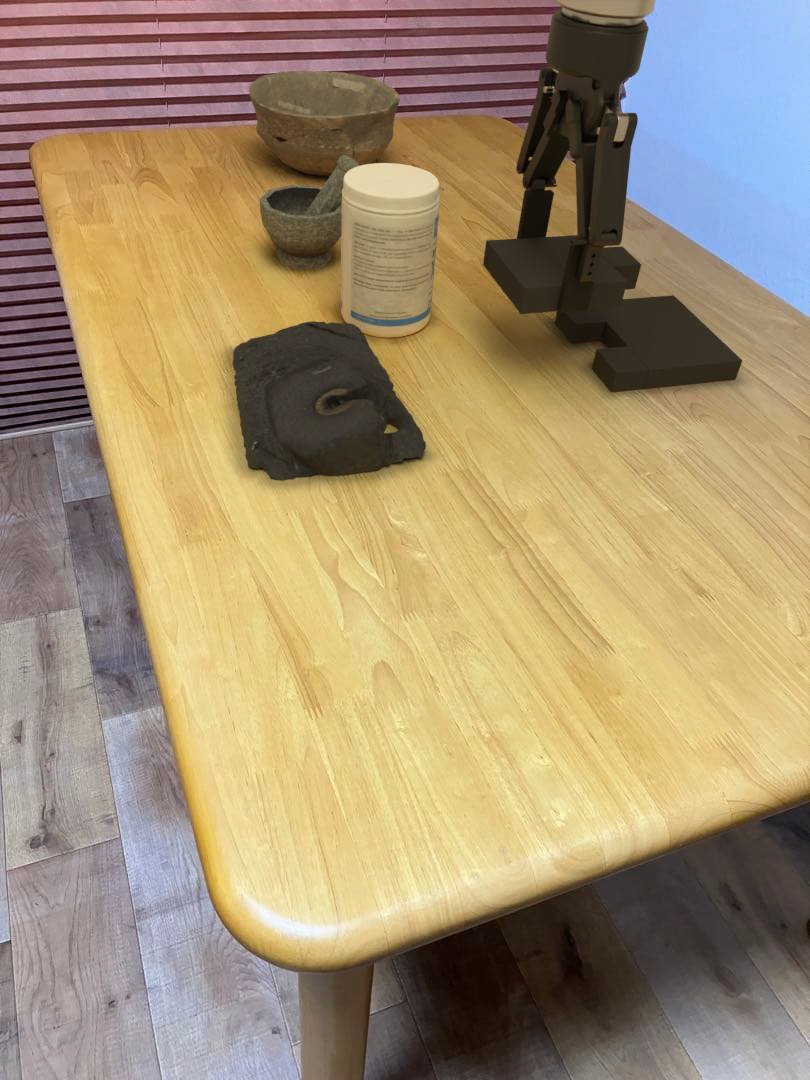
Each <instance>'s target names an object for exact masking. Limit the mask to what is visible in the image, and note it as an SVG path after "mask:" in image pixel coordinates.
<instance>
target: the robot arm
mask: <svg viewBox="0 0 810 1080" xmlns="http://www.w3.org/2000/svg"><path fill="white" fill-rule="evenodd" d="M556 2H557V4H558V6H560V7H561V8H559V9H556V10H555V12H554V13H553V14H552V15H551V21H550V27H549V33H548V39H547V46H546V51H545V61H546V64H547V65H548V66H542V67H541V68H540V70H539V75H538V82H537V88H536V89H537V90H536V96H535V100H534V103H533V106H532V109H531V113H530V117H529V121H528V124H527V127H526V131H525V134H524V137H523V141H522V144H521V148H520V152H519V155H518V158H517V161H516V167H515V169H516V173H517V174H518V175H522V187H523V188H524V189H525V190H524V192H523V198H522V204H521V211H520V217H519V222H518V229H517V234H516V239H520V238H538V237H547V234H548V228H549V223H550V217H551V211H552V206H553V201H554V196H555V192H554V191H553V190H552V189H546V188H557V187H558V184H557V180H556V175H557V174H558V172H559V169H560V168H561V166H562V164H563V162H564V160H565V158H566V156H567V154H568V152H569V155H570V156H569V157H571V159H573V160H574V161H575V189H576V191H575V193H576V229H577V231H576V232H577V235H578V237H575V238H571V239H570V248H569V253H568V257H567V262H566V267H565V272H564V277H563V282H562V287H561V292H560V297H559V302H558V306H557V310H558V311H559V312H560V313H566V312H579V311H588V307H589V302H590V298H591V294H592V290H593V285H594V281H595V278H596V275H597V270H598V267H599V266H598V265H599V262H600V258H601V254H602V250H603V248H605V247H614V246H620V245H621V244H622V241H623V232H624V223H625V222H624V221H625V215H626V214H625V212H626V203H627V193H628V182H629V172H630V171H629V170H630V162H631V153H632V151H631V150H632V145H633V141H634V138H635V134H636V130H637V128H638V123H639V119H638V114H637V113H636V112H623V111H622V110H621V109H620V91H621V85H622V84H623V82H625V81H626V80H628V79H630V78H632V77H634V76H635V75H637V73H638V72H639V70H640V67H641V64H642V59H643V55H644V50H645V46H646V42H647V37H648V33H649V28H650V27H649V26H648V24H647V21H646V19H644V18H646V17H648V16H649V15H651V14H652V13H653V12H654V9H655V4H656V0H556Z"/></svg>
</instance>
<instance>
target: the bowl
mask: <svg viewBox="0 0 810 1080" xmlns="http://www.w3.org/2000/svg"><path fill="white" fill-rule="evenodd" d="M248 90H249V98H250V100H251V104H252V106H253V108H254V112H255V117H256V127H255V130H256V133H257V135H258V136H259V137H260V138H261V139H262V141H263V142H264V143H265V145H266V146H267V148H268V149H269V150H270V151H271V153H272V154H274V157H276V158H277V159H278V160H280V161H281V163H283V164H285V165H286V166H289V167H290V168H292V169H294V170H296V171H299V172H301V173H304V174H307V175H312V176H316V177H330V176H331V174H332V173H333V171H334V170H335V168H336V167H337V161H338V159H339V157H340V156H342V155H346V156H349V157H351V158H352V159H354V160H355V161H356V162H357V163H358V164H359V165H360V166H361V165H366V164H373V163H375V161H376V160H377V159H378V157H379V156H381V155H382V153H384V152H385V150H386V149H388V146H389V145H390V143H391V141H392V140H393V137H394V123H395V117H396V114H397V110H398V108H399V103H400V101H401V98H400V94H399V93H398V92H397V91H396V89H395V88H394V87H392V86H390V85H389V84H387V83H385V82H382V81H379V80H378V79H375V78H372V77H368V76H365V75H361V74H355V73H351V72H350V73H347V72H342V71H341V72H340V71H330V70H306V69H305V70H304V69H302V70H287V71H280V72H275V73H270V74H265V75H262V76H259V77H258V78H257V79H255V80H254V81H253V82H252V83H251V84H250V85H249V88H248Z"/></svg>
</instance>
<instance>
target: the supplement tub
mask: <svg viewBox="0 0 810 1080" xmlns="http://www.w3.org/2000/svg"><path fill="white" fill-rule="evenodd" d="M440 199H441V197H440V180H439V178H437V177H436V175H434V174H433V173H431V172H430V171H428V170H426V169H424V168H420V167H416V166H414V165H409V164H405V163H404V164H403V163H392V162H377V163H376V162H373V163H371V164H366V165H361V166H357V167H355V168H352V169H351V170H349V171H348V172H347V173H346V174H345V175H344V180H343V189H342V215H341V237H340V239H341V241H340V243H341V245H340V250H341V251H340V313H341V316H342V319H343V321H344V323H350V324H353V325H355V326H357V327H358V328H360V330H361V332H362V333H363V334H364V335H368V336H372V337H378V338H385V339H386V338H390V339H391V338H402V337H406V336H410V335H413V334H416V333H417V332H419V331H421V330H422V329H423V328H424V327H426V326H427V324H428V323H429V321H430V318H431V311H432V302H433V301H432V300H433V288H434V276H435V266H436V253H437V242H438V241H437V240H438V231H439V217H440V204H441V203H440V201H441V200H440Z"/></svg>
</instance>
